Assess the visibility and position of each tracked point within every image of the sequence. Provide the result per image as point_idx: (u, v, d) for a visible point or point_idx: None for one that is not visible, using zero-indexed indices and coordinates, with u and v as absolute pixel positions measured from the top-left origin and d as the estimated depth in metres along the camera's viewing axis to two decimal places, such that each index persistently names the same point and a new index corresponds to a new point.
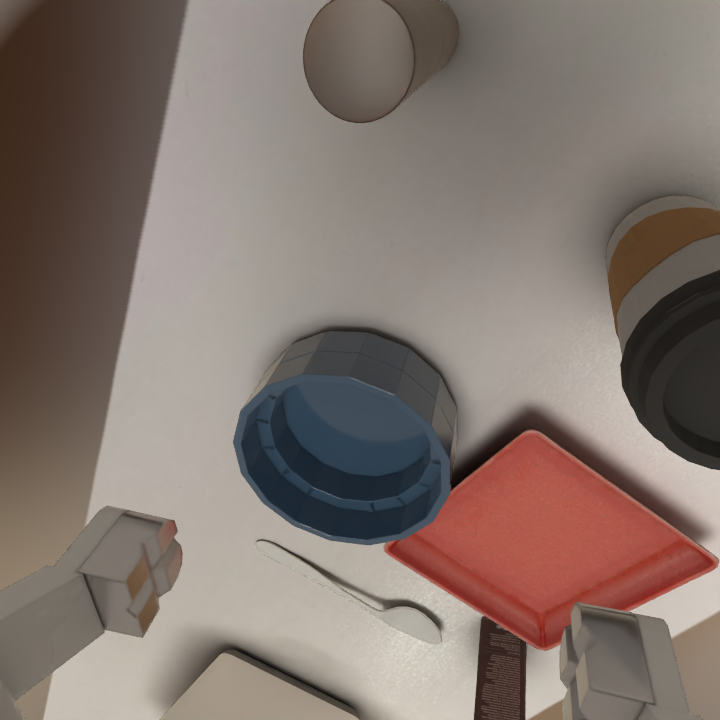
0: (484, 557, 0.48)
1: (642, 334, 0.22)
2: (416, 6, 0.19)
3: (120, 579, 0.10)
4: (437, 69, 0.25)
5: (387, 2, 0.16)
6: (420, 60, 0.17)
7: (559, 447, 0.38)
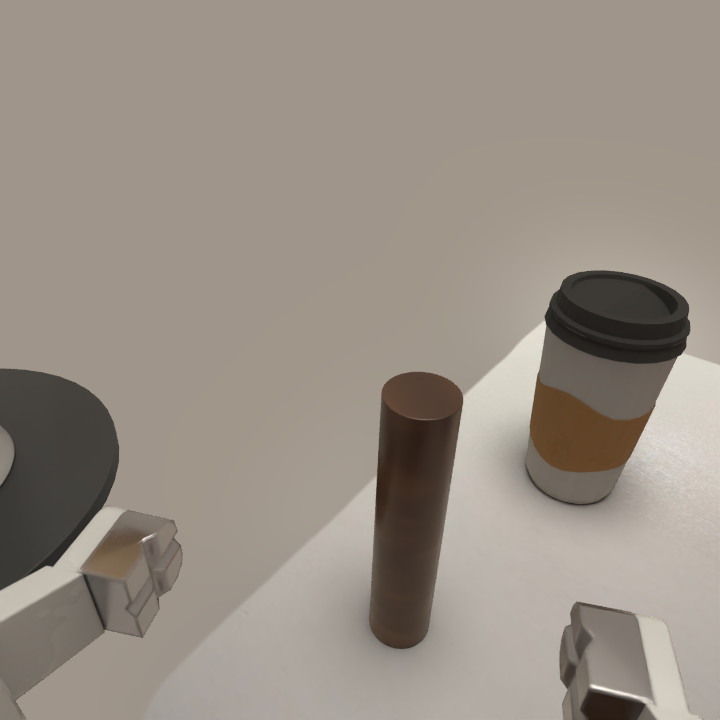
0: None
1: (605, 348, 0.32)
2: None
3: (120, 579, 0.10)
4: None
5: (391, 379, 0.24)
6: None
7: None
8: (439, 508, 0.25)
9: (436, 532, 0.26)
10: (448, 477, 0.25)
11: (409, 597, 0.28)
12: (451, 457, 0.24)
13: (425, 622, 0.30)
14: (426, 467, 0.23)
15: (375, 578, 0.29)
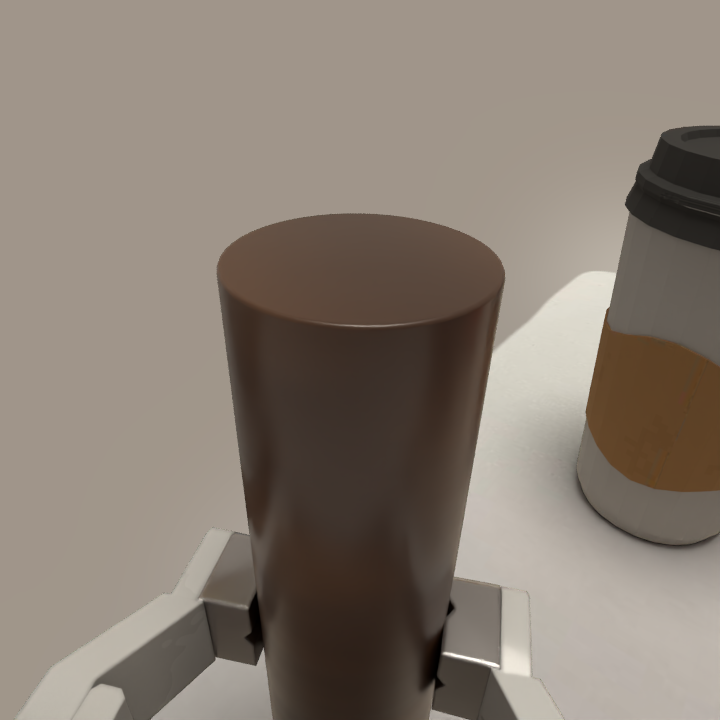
0: None
1: None
2: None
3: (242, 607, 0.10)
4: None
5: (269, 227, 0.08)
6: None
7: None
8: (427, 623, 0.09)
9: (418, 678, 0.09)
10: (452, 536, 0.08)
11: None
12: (462, 475, 0.07)
13: None
14: (377, 511, 0.07)
15: None
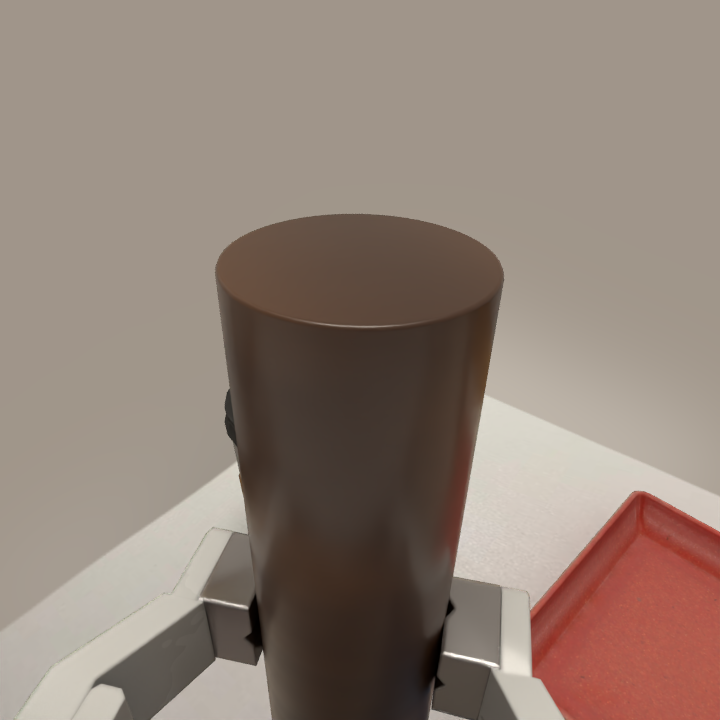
0: None
1: None
2: None
3: (242, 607, 0.10)
4: None
5: (268, 227, 0.08)
6: None
7: None
8: (426, 624, 0.09)
9: (418, 680, 0.09)
10: (451, 537, 0.08)
11: None
12: (461, 476, 0.07)
13: None
14: (376, 511, 0.07)
15: None
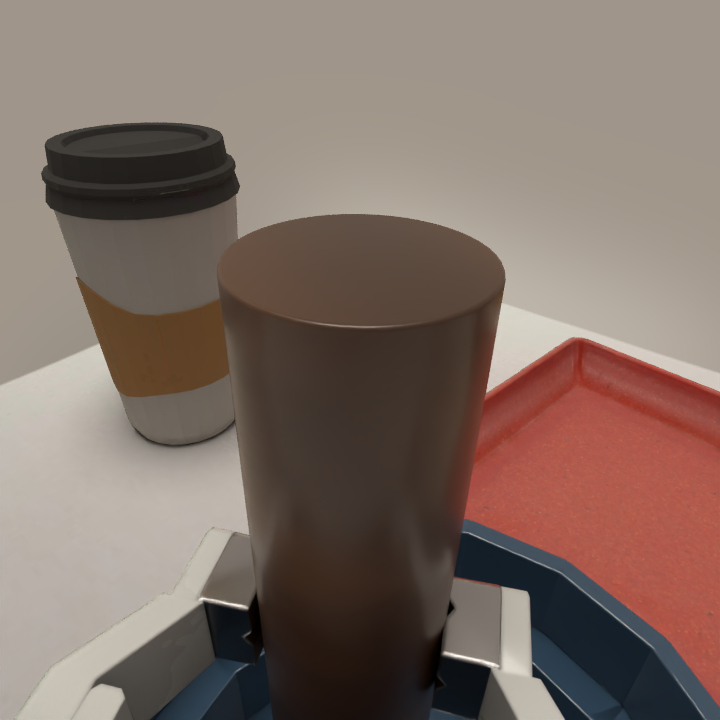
0: None
1: (67, 200, 0.22)
2: None
3: (242, 607, 0.10)
4: None
5: (269, 228, 0.08)
6: None
7: None
8: (427, 625, 0.09)
9: (419, 680, 0.09)
10: (453, 537, 0.08)
11: None
12: (463, 476, 0.07)
13: None
14: (377, 512, 0.07)
15: None
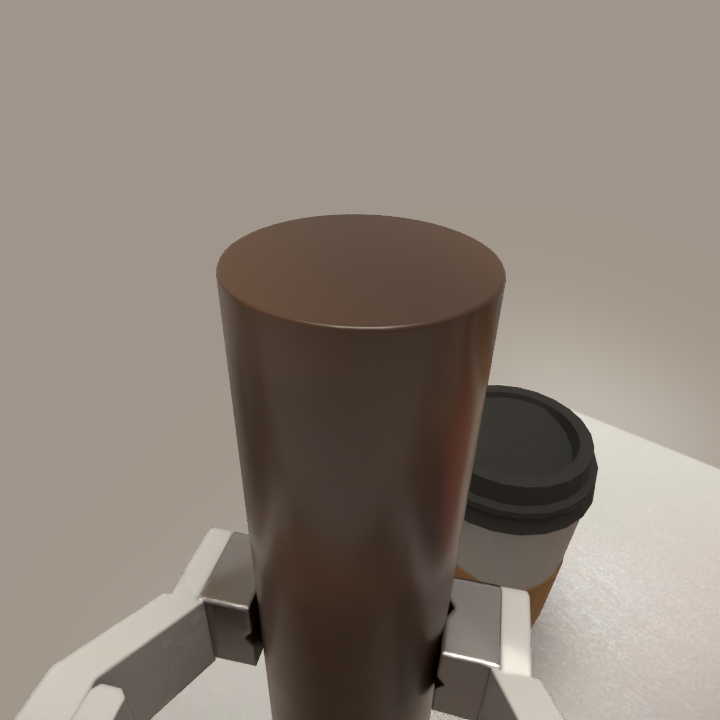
0: None
1: (478, 514, 0.24)
2: None
3: (242, 607, 0.10)
4: None
5: (269, 228, 0.08)
6: None
7: None
8: (427, 626, 0.09)
9: (419, 681, 0.09)
10: (453, 538, 0.08)
11: None
12: (463, 477, 0.07)
13: None
14: (377, 513, 0.07)
15: None
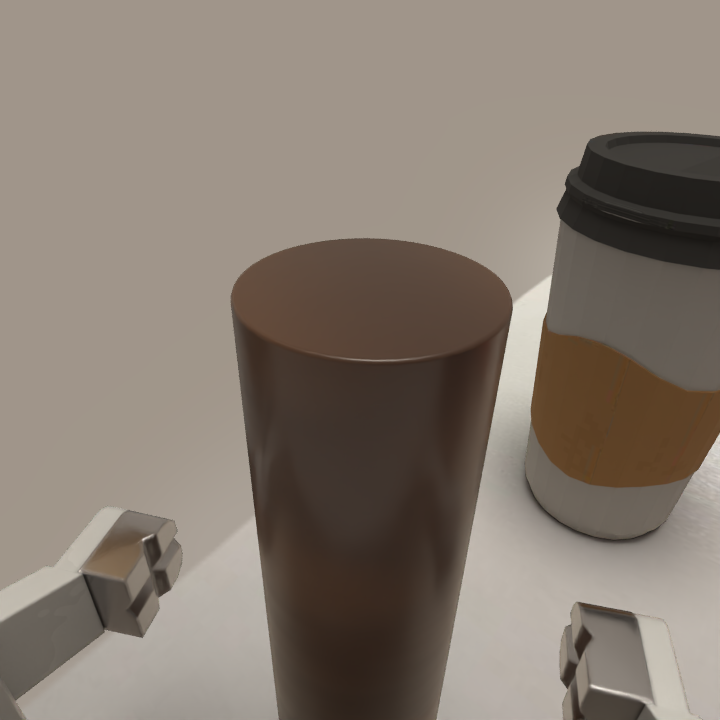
0: None
1: (681, 243, 0.16)
2: None
3: (120, 579, 0.10)
4: None
5: (280, 253, 0.08)
6: None
7: None
8: (434, 640, 0.09)
9: (426, 694, 0.10)
10: (460, 556, 0.08)
11: None
12: (470, 498, 0.07)
13: None
14: (387, 534, 0.07)
15: None
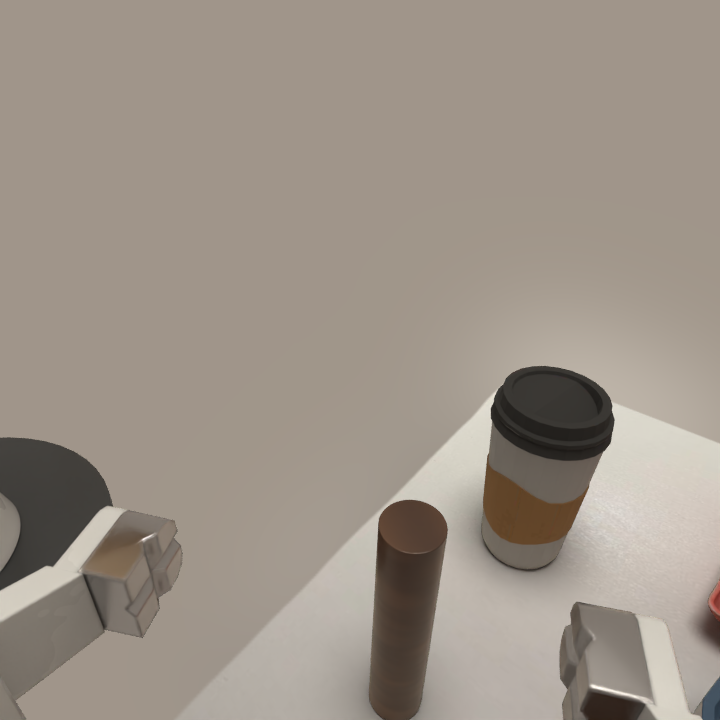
0: None
1: (537, 447, 0.37)
2: None
3: (120, 579, 0.10)
4: None
5: (386, 508, 0.29)
6: None
7: (717, 584, 0.40)
8: (428, 615, 0.30)
9: (426, 632, 0.30)
10: (435, 590, 0.29)
11: (404, 683, 0.32)
12: (438, 576, 0.28)
13: (418, 700, 0.35)
14: (416, 587, 0.28)
15: (374, 665, 0.33)
